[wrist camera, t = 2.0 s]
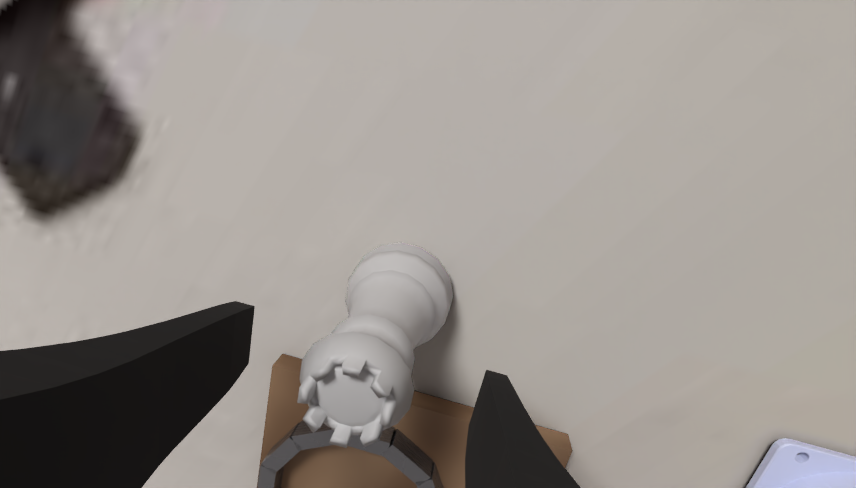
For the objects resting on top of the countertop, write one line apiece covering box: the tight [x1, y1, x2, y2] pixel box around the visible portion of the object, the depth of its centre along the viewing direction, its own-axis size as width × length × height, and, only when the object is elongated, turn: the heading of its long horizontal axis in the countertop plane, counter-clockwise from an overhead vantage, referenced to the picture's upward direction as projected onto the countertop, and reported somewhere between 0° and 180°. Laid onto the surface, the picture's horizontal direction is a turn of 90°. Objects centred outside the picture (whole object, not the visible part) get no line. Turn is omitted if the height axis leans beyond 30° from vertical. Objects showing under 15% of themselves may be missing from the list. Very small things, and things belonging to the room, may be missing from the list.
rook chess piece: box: [297, 242, 453, 448], centre depth 14 cm, size 4×4×8 cm
